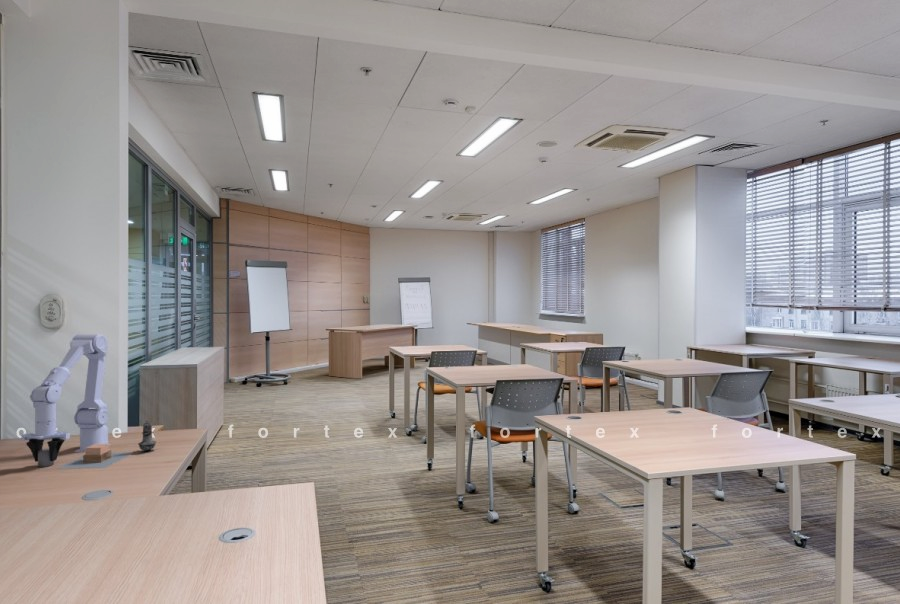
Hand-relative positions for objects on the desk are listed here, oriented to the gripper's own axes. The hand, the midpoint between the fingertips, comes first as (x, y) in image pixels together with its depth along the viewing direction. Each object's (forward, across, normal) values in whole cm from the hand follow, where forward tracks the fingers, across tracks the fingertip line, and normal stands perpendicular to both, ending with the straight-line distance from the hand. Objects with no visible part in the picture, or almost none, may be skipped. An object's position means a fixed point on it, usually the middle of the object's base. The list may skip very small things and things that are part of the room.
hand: (45, 460), depth 177 cm
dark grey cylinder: (+1, 0, 0) cm, 1 cm away
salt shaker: (+2, +26, +15) cm, 30 cm away
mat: (+2, +14, +5) cm, 15 cm away
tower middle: (-1, +14, +5) cm, 15 cm away
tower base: (+2, +14, +5) cm, 15 cm away
